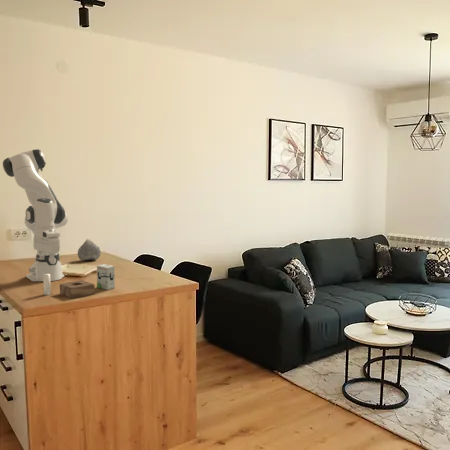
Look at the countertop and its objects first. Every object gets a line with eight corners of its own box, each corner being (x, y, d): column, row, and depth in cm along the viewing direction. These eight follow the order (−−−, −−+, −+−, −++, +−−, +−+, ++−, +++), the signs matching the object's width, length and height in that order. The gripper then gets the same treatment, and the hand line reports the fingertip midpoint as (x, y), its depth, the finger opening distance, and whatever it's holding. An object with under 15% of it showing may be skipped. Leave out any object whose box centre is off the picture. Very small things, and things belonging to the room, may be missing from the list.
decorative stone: (99, 258, 321) (98, 237, 319) (102, 261, 312) (101, 239, 310) (76, 260, 314) (76, 238, 312) (79, 263, 305) (78, 240, 303)
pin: (42, 294, 226) (42, 274, 225) (48, 293, 228) (48, 273, 227) (45, 295, 224) (45, 275, 222) (52, 294, 226) (51, 274, 225)
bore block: (59, 293, 227) (59, 283, 227) (81, 289, 236) (81, 280, 236) (72, 298, 219) (72, 288, 219) (94, 294, 228) (94, 284, 228)
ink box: (96, 287, 241) (96, 265, 240) (103, 285, 245) (103, 263, 244) (108, 290, 237) (107, 267, 235) (115, 288, 241) (115, 265, 239)
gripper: (29, 231, 227) (30, 258, 228) (49, 234, 213) (50, 263, 215) (41, 230, 232) (42, 257, 233) (61, 233, 218) (62, 262, 219)
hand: (46, 260), depth 224 cm, fingers open, 8 cm apart
